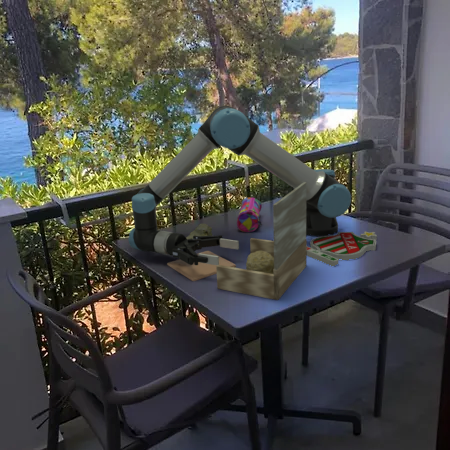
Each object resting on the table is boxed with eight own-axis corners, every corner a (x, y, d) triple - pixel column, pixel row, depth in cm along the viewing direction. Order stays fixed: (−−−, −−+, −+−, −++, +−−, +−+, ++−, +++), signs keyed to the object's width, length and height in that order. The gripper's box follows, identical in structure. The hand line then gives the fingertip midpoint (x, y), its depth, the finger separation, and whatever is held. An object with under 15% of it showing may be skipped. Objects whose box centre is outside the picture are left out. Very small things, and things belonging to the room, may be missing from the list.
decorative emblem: (293, 244, 161) (354, 225, 176) (293, 251, 162) (354, 231, 177) (333, 261, 146) (396, 239, 162) (333, 268, 147) (396, 245, 162)
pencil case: (261, 233, 179) (261, 210, 176) (236, 234, 180) (235, 211, 177) (262, 215, 199) (261, 195, 196) (239, 216, 200) (239, 195, 197)
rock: (182, 250, 170) (209, 246, 167) (178, 233, 168) (205, 229, 166) (190, 240, 180) (215, 236, 177) (186, 224, 178) (211, 220, 176)
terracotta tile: (208, 252, 163) (208, 250, 163) (235, 267, 150) (235, 264, 150) (167, 265, 154) (167, 262, 154) (193, 281, 142) (192, 279, 142)
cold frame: (217, 288, 137) (212, 198, 128) (252, 257, 157) (249, 178, 148) (278, 300, 128) (276, 205, 120) (306, 266, 149) (307, 182, 140)
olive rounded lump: (276, 291, 141) (288, 260, 142) (252, 282, 135) (265, 250, 136) (257, 283, 148) (269, 254, 149) (234, 274, 143) (246, 244, 143)
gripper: (191, 241, 167) (246, 249, 157) (149, 268, 146) (209, 280, 137) (190, 221, 165) (245, 228, 155) (147, 246, 144) (208, 256, 134)
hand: (228, 252), depth 146 cm, fingers open, 13 cm apart
